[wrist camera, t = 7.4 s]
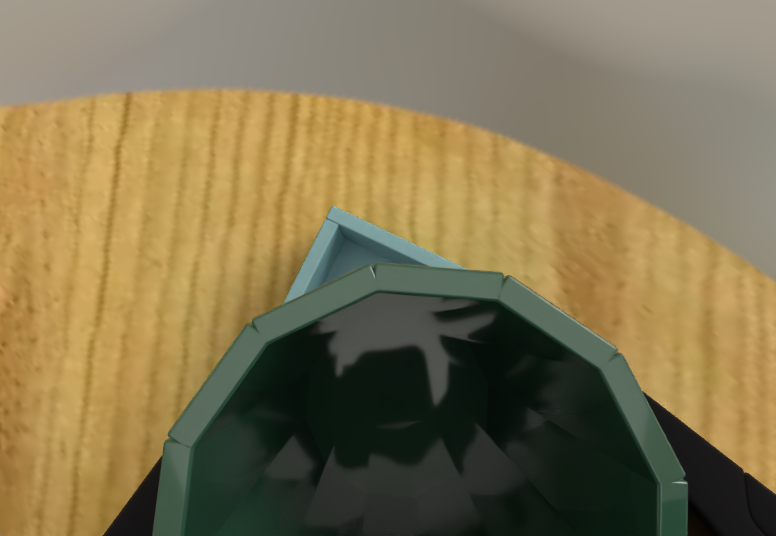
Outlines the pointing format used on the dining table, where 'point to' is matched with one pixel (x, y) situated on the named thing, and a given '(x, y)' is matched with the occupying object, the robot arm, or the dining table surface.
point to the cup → (419, 420)
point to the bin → (355, 252)
